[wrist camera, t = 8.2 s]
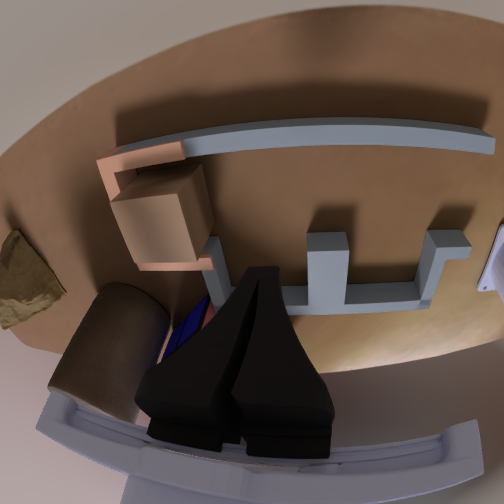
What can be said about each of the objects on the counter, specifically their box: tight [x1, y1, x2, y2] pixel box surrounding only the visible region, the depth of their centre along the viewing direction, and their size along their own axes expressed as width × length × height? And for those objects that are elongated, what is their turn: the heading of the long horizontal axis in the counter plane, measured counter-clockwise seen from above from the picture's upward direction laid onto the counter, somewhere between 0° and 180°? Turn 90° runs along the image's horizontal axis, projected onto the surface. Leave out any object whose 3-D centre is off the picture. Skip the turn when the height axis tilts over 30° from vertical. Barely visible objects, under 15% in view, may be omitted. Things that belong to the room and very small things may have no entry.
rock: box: [0, 230, 67, 330], centre depth 27 cm, size 11×9×10 cm
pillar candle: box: [48, 283, 170, 424], centre depth 26 cm, size 10×10×15 cm
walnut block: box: [109, 163, 215, 263], centre depth 20 cm, size 5×5×5 cm
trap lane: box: [96, 117, 496, 315], centre depth 20 cm, size 27×16×3 cm, turn 98°
